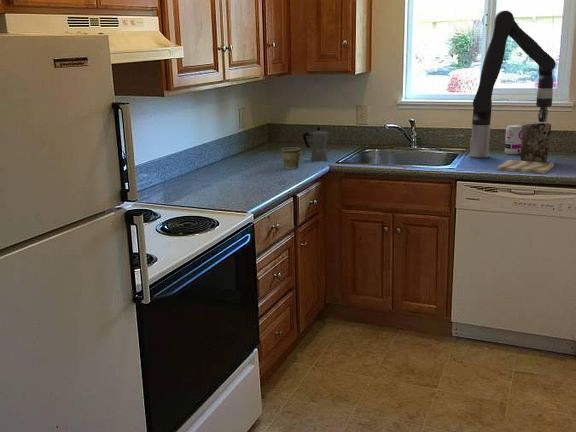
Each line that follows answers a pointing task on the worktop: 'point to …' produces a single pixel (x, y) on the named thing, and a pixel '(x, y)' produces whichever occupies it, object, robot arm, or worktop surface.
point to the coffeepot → (317, 144)
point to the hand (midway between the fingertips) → (541, 130)
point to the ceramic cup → (291, 157)
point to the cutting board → (525, 166)
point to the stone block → (535, 141)
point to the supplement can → (513, 139)
